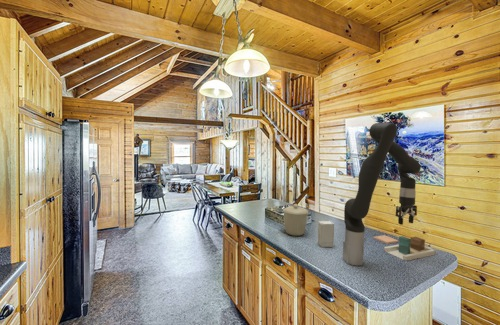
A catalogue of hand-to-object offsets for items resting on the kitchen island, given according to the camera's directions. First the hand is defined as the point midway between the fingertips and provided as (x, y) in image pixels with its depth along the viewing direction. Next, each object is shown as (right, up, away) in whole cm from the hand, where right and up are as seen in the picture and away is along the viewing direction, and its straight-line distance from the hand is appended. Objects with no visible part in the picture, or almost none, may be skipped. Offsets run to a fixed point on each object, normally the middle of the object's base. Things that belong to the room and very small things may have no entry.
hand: (405, 223), depth 127 cm
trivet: (+1, -17, +21) cm, 27 cm away
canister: (-58, -16, +30) cm, 67 cm away
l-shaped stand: (+6, -17, +3) cm, 19 cm away
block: (+10, -16, +5) cm, 19 cm away
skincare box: (-43, -17, +10) cm, 47 cm away
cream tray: (+4, -18, +3) cm, 18 cm away
